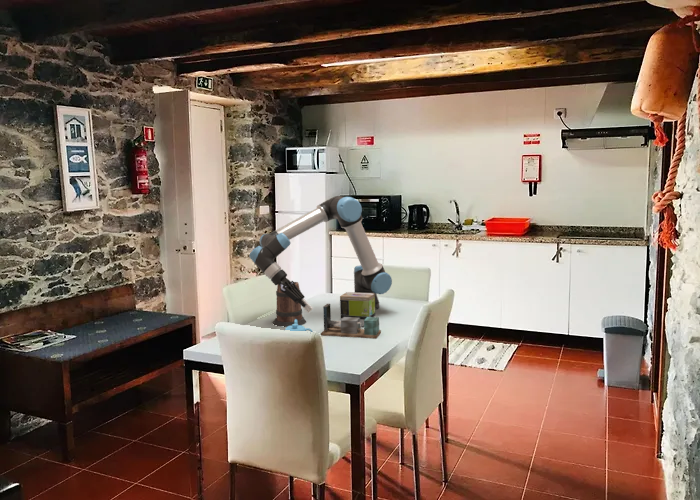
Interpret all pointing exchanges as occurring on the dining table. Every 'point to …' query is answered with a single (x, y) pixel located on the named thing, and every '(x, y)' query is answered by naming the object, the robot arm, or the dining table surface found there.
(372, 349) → the dining table surface
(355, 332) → the tube stand
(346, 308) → the tea box
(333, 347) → the dining table surface
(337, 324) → the grey piece
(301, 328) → the teapot
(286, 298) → the tankard
